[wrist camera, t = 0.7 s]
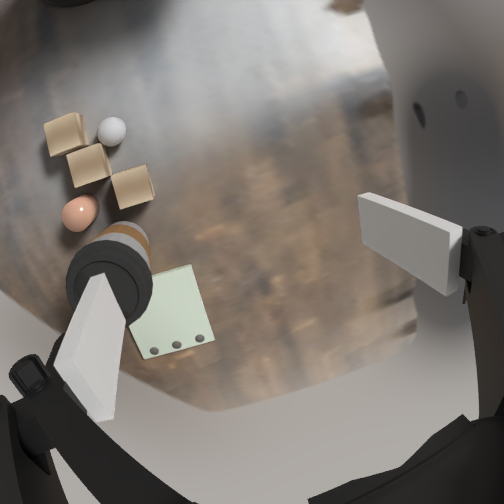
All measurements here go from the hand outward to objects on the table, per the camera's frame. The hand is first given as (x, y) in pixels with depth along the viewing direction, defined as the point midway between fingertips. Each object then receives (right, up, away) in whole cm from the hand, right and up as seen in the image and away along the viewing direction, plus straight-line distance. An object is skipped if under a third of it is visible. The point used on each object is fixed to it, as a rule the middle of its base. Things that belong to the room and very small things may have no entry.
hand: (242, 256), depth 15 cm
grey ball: (-16, +14, +18) cm, 28 cm away
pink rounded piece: (-20, +6, +21) cm, 30 cm away
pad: (-12, -8, +28) cm, 32 cm away
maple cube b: (-19, +11, +20) cm, 30 cm away
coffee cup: (-16, +1, +24) cm, 29 cm away
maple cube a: (-22, +14, +18) cm, 32 cm away
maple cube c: (-14, +9, +22) cm, 27 cm away
